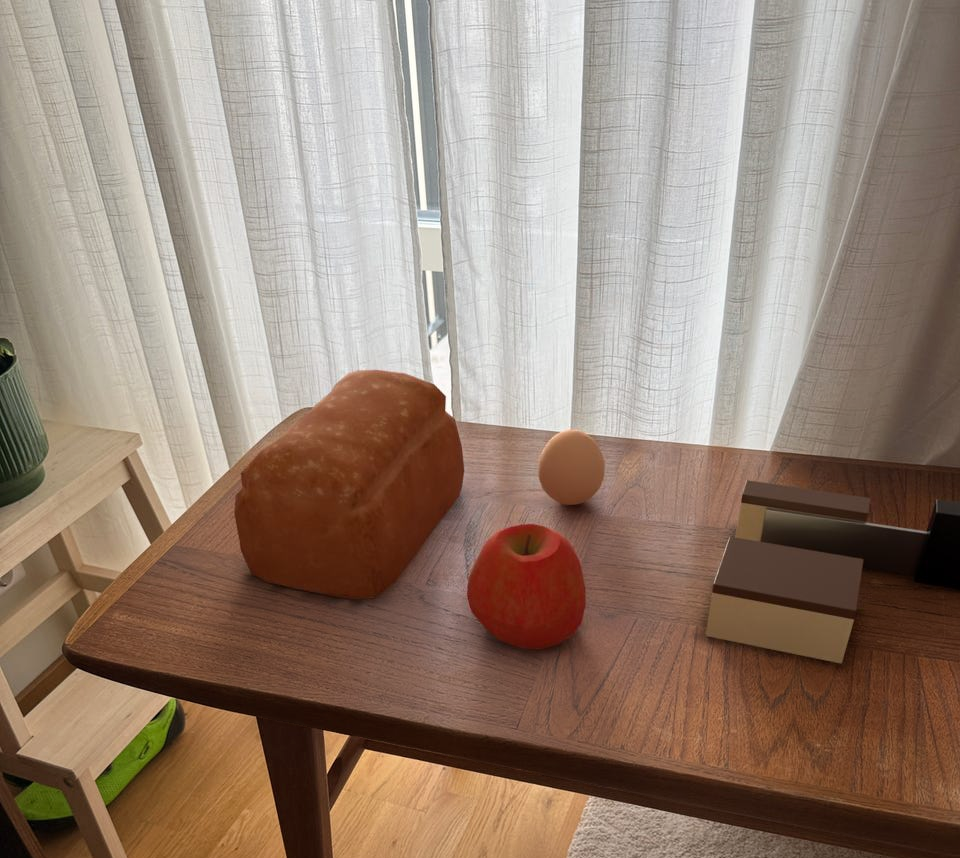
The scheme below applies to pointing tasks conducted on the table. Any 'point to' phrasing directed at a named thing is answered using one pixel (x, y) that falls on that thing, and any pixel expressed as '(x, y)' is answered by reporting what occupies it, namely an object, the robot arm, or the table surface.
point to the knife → (878, 542)
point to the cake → (785, 599)
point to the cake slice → (793, 505)
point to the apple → (528, 587)
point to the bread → (351, 487)
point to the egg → (571, 467)
